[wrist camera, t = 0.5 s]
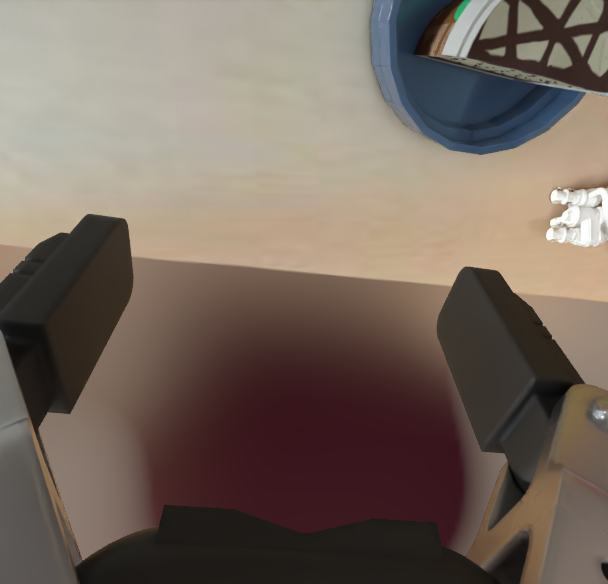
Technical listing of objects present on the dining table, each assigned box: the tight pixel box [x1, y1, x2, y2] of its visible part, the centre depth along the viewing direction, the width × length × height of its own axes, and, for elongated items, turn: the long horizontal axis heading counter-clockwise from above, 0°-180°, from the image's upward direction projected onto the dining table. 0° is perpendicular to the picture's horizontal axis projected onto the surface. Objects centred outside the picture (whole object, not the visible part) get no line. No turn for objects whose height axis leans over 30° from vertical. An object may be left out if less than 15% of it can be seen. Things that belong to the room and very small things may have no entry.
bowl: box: [370, 0, 586, 155], centre depth 30 cm, size 18×18×4 cm
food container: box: [414, 0, 608, 97], centre depth 28 cm, size 12×6×10 cm, turn 78°
